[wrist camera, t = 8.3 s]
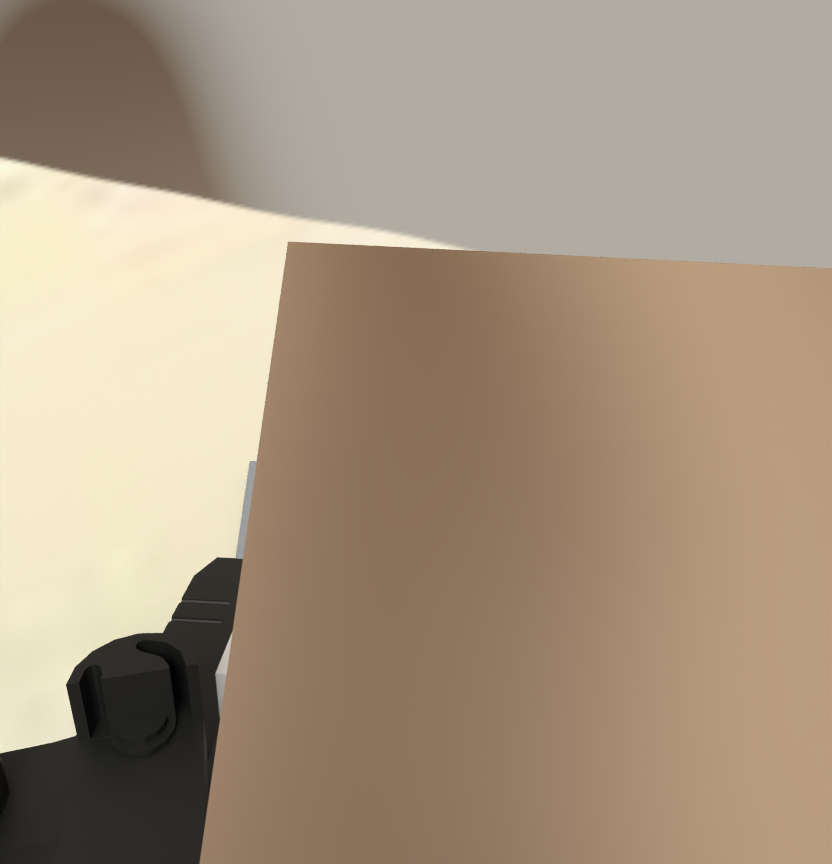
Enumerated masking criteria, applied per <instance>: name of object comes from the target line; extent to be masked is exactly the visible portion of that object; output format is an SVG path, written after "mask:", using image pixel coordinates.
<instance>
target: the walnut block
mask: <svg viewBox="0 0 832 864" xmlns="http://www.w3.org/2000/svg"><path fill="white" fill-rule="evenodd" d="M199 864H832V269H829V268H811V267H810V268H809V267H790V266H768V265H749V264H729V263H710V262H689V261H669V260H649V259H628V258H608V257H588V256H566V255H547V254H527V253H507V252H505V253H504V252H486V251H466V250H446V249H425V248H405V247H385V246H364V245H344V244H324V243H304V242H288V246H287V253H286V260H285V267H284V275H283V282H282V289H281V296H280V303H279V310H278V317H277V324H276V331H275V338H274V345H273V352H272V359H271V366H270V373H269V380H268V387H267V394H266V401H265V408H264V415H263V422H262V429H261V436H260V443H259V450H258V457H257V464H256V471H255V478H254V485H253V492H252V499H251V506H250V513H249V520H248V527H247V534H246V541H245V548H244V555H243V562H242V569H241V576H240V583H239V590H238V597H237V604H236V611H235V618H234V625H233V632H232V639H231V646H230V653H229V660H228V667H227V674H226V681H225V688H224V695H223V702H222V709H221V716H220V723H219V730H218V737H217V744H216V751H215V758H214V765H213V772H212V779H211V786H210V793H209V800H208V807H207V814H206V821H205V828H204V835H203V842H202V849H201V856H200V863H199Z"/></svg>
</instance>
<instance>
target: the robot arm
mask: <svg viewBox="0 0 832 864" xmlns="http://www.w3.org/2000/svg"><path fill="white" fill-rule="evenodd" d="M242 562H243V559H237V558H218V557H217V558H216V559H215V560H213V561H212V562H211V563H210V564H208V565H207V566H206V567H205V568H203V569H202V570H201V571H200V572H198V573H197V574H196V575H195V576H194V577H193V579H192V581H191V582H190V584H189V586H188V588H187V590H186V592H185V593H184V595H183V597H182V602H181V603H179V604H178V606H177V608H176V610H175V612H174V614H173V615H172V620H171V622H169V623H168V625H167V626H166V628H165V630H164V632H163V633H142V634H135V635H131V636H127V637H124V638H120V639H116V640H113V641H111V642H110V643H108V644H106V645H104V646H102V647H100V648H98V649H96V650H94V651H92V652H91V653H90V654H89V655H88V656H87V657H86V658H85V659H84V660H82V661H81V662H80V663H79V664H78V665H77V666H76V667H75V669H74V670H73V672H72V674H71V676H70V678H69V680H68V682H67V684H66V687H67V691H68V696H69V700H70V705H71V710H72V714H73V719H74V723H75V728H76V733H77V735H76V736H74V737H71V738H67V739H64V740H60V741H57V742H54V743H49V744H44V745H39V746H34V747H29V748H25V749H20V750H15V751H10V752H5V753H0V864H199V863H200V856H201V849H202V842H203V835H204V828H205V821H206V814H207V807H208V800H209V793H210V786H211V779H212V772H213V765H214V758H215V751H216V744H217V737H218V730H219V723H220V716H221V709H222V702H223V695H224V688H225V681H226V674H227V667H228V660H229V653H230V646H231V639H232V632H233V625H234V618H235V611H236V604H237V597H238V590H239V583H240V576H241V569H242Z"/></svg>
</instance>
